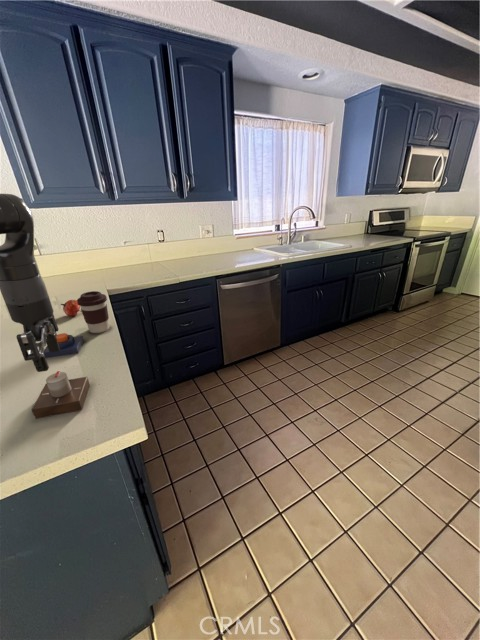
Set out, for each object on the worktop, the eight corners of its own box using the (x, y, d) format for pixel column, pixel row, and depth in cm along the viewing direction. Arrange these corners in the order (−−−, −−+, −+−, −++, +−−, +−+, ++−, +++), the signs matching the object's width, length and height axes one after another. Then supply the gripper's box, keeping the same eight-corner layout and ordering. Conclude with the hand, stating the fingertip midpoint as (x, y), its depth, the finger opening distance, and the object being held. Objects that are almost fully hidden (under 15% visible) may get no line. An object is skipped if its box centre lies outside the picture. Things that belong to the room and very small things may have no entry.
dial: (69, 395, 66) (64, 379, 64) (49, 399, 65) (42, 383, 63) (73, 384, 70) (68, 369, 68) (53, 388, 69) (48, 372, 67)
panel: (35, 419, 63) (31, 409, 62) (49, 392, 72) (45, 382, 70) (82, 409, 66) (78, 400, 64) (89, 385, 74) (87, 376, 73)
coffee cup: (86, 337, 99) (76, 300, 93) (84, 327, 107) (74, 292, 101) (115, 331, 104) (106, 295, 98) (111, 322, 112) (103, 288, 105)
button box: (44, 358, 87) (40, 348, 85) (53, 345, 94) (49, 335, 93) (78, 353, 89) (75, 343, 88) (84, 340, 97) (81, 331, 95)
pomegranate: (80, 315, 124) (56, 306, 117) (88, 302, 123) (64, 293, 116) (81, 322, 118) (56, 314, 112) (89, 309, 117) (64, 300, 111)
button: (54, 343, 88) (53, 338, 88) (58, 338, 91) (56, 334, 91) (66, 341, 89) (65, 337, 89) (69, 337, 92) (68, 332, 92)
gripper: (20, 288, 62) (41, 347, 68) (-13, 311, 49) (18, 381, 56) (57, 285, 64) (74, 343, 70) (34, 307, 51) (58, 375, 58)
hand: (49, 360), depth 63 cm, fingers open, 8 cm apart
